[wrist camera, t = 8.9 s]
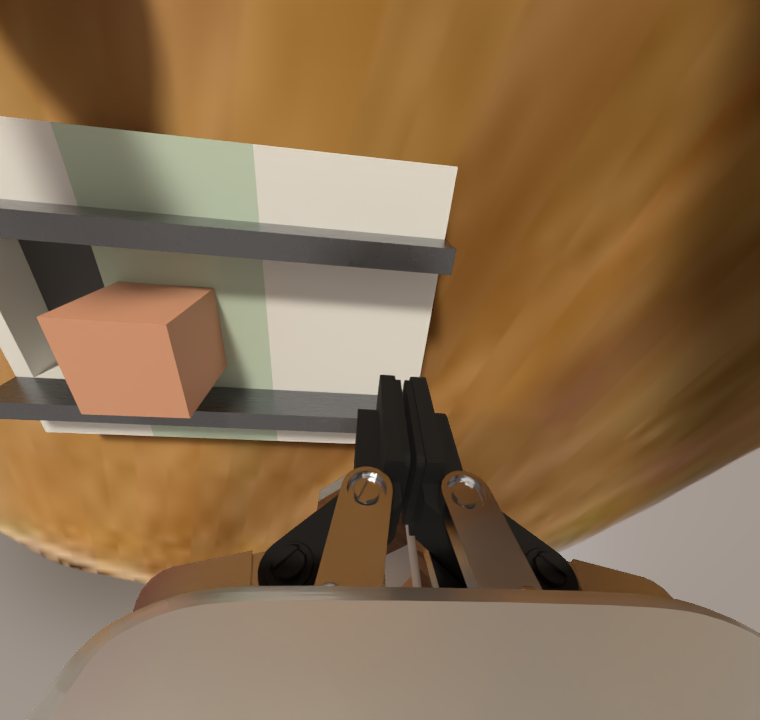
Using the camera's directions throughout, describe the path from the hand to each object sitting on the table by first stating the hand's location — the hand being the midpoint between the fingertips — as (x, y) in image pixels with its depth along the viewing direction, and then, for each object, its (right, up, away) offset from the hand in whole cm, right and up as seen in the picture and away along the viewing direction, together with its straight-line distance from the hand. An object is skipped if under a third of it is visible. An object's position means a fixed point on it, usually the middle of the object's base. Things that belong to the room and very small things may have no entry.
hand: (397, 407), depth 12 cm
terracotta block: (-12, +4, +7) cm, 15 cm away
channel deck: (-10, +5, +9) cm, 15 cm away
